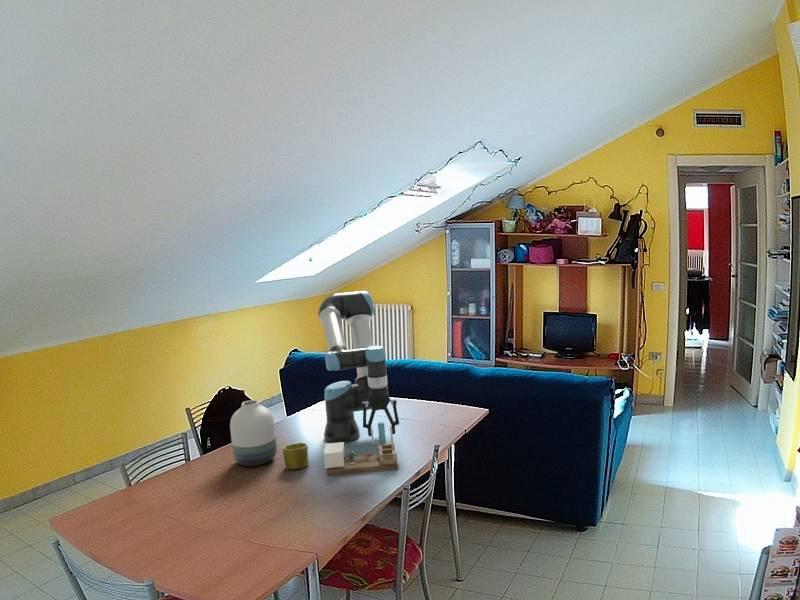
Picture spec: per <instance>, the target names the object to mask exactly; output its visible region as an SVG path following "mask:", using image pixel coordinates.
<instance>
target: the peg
mask: <svg viewBox="0 0 800 600" xmlns="http://www.w3.org/2000/svg"><path fill="white" fill-rule="evenodd" d="M377 428H378V429H377V430H378V441H379V444H378V445H381V444H387V440H386V430H385V429H386V428H385V422H384V421H381V422H378V423H377Z"/></svg>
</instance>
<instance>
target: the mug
mask: <svg viewBox="0 0 800 600" xmlns="http://www.w3.org/2000/svg"><path fill="white" fill-rule="evenodd" d="M308 449H309V447H308V445H307V443H305V442H304V443H303V442H300V441H299V442H298V441H297V442H296V443H292V444H287V445H284V446H283V448H282V457H283V459H284V465H285V467H286V469H287V470H291V471H292V470H293V471H294V470H295V471H296V470H300V469H304V468H307V467H308V466H309V454H308Z"/></svg>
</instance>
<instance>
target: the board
mask: <svg viewBox="0 0 800 600" xmlns="http://www.w3.org/2000/svg"><path fill="white" fill-rule="evenodd" d="M395 446H396V445H395V442H393V443H386V444H381V445H380V444H378V451H379V452H368V453H361V454H360V453H357V454H355V451H353V450H352V451H349V452H348V455H347V454H345V457H344V467H334V468H326V476H327V477H331V476H333V477H334V476H342V475H352V474H353V475H354V474H363V473H374V472H383V471H384V472H385V471H387V472H388V471H395V470H397V471H398V470H399V461H398V460H399V459H398V455H397V454H398V453H397V450H396V447H395Z"/></svg>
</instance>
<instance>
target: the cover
mask: <svg viewBox="0 0 800 600" xmlns="http://www.w3.org/2000/svg"><path fill="white" fill-rule="evenodd" d="M345 456H346V452H345V442H339V443H331V442H328V443H325V444H324V450H323V462H324V469H327V468H334V467H344V457H345Z"/></svg>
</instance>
